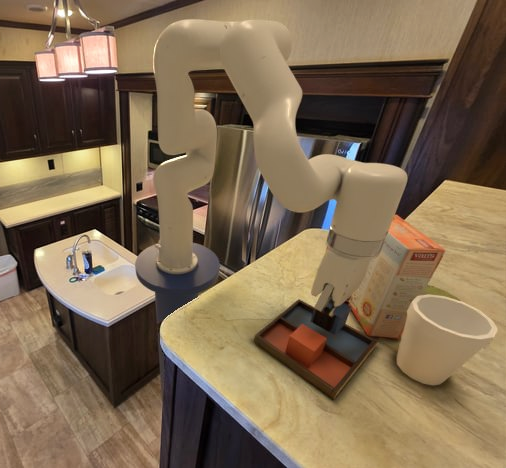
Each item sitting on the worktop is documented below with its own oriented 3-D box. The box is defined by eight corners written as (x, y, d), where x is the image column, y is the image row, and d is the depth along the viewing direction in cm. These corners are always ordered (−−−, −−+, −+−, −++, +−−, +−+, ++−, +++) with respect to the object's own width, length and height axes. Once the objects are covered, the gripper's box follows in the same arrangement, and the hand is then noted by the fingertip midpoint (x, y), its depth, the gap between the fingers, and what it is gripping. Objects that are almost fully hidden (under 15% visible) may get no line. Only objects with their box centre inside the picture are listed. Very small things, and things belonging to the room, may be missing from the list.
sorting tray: (253, 341, 58) (254, 334, 57) (297, 305, 66) (298, 298, 65) (333, 399, 47) (336, 392, 46) (374, 348, 55) (377, 340, 54)
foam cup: (399, 338, 56) (425, 287, 50) (464, 373, 50) (504, 318, 43) (376, 363, 52) (402, 311, 46) (444, 405, 45) (485, 350, 39)
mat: (386, 303, 65) (389, 297, 64) (402, 282, 70) (405, 276, 69) (455, 333, 57) (460, 326, 56) (468, 306, 62) (472, 299, 61)
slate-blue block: (310, 321, 57) (315, 304, 55) (321, 311, 59) (326, 294, 57) (334, 335, 54) (340, 317, 52) (345, 323, 56) (351, 306, 54)
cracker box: (401, 340, 56) (449, 249, 46) (366, 337, 57) (406, 248, 47) (366, 292, 68) (398, 212, 58) (338, 291, 69) (365, 212, 59)
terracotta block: (285, 352, 55) (289, 335, 53) (297, 340, 57) (302, 323, 55) (308, 368, 52) (314, 351, 50) (321, 354, 54) (327, 338, 52)
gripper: (351, 217, 55) (329, 292, 63) (304, 249, 46) (285, 330, 55) (401, 230, 49) (368, 310, 58) (357, 270, 41) (327, 356, 50)
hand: (328, 319), depth 56 cm, fingers closed on slate-blue block, 4 cm apart
